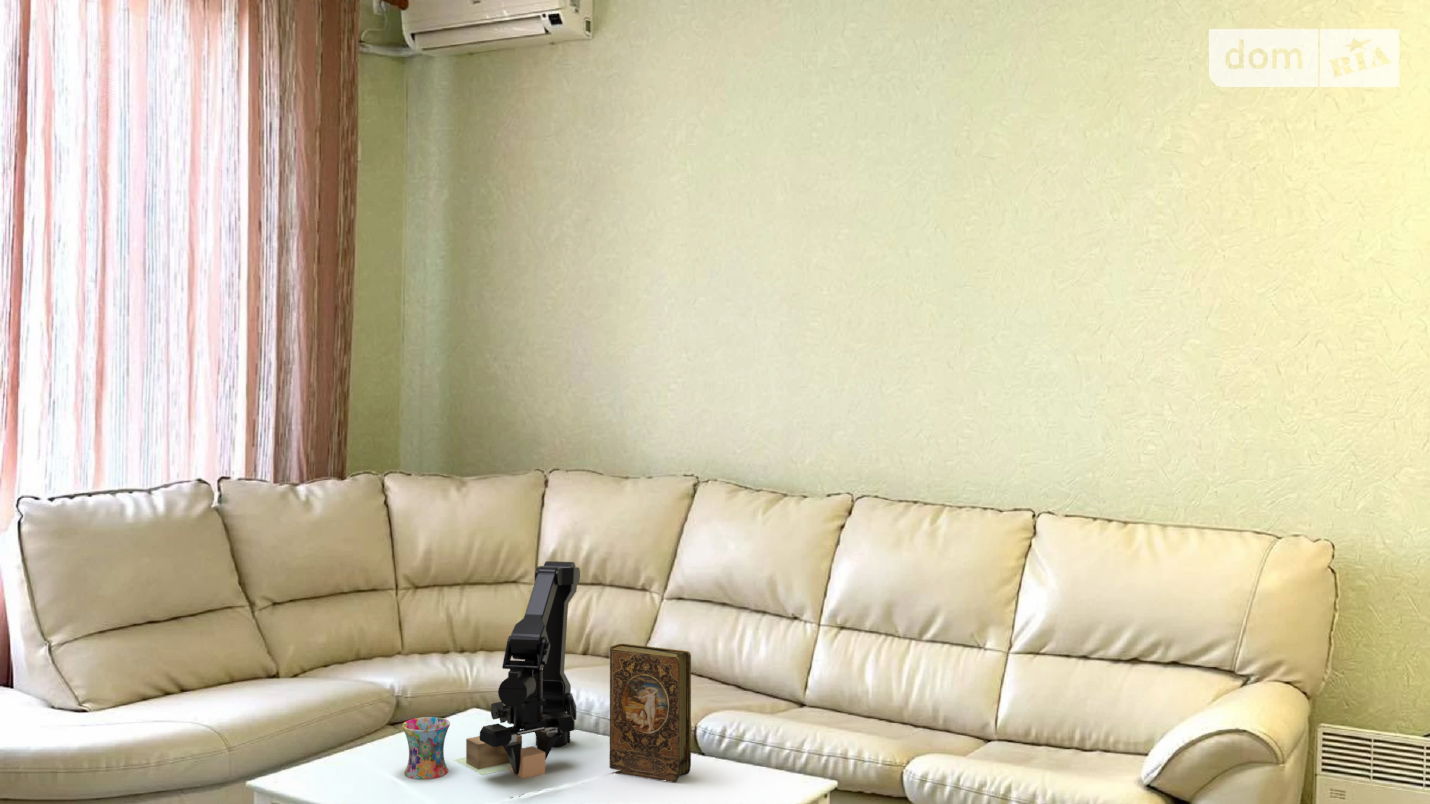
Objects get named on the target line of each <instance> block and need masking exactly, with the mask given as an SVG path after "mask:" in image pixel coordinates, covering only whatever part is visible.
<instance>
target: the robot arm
mask: <svg viewBox="0 0 1430 804" xmlns="http://www.w3.org/2000/svg"><path fill="white" fill-rule="evenodd" d="M535 568H536V569H535V572H534V584H533V587H532V589H531V590H532V591H531V593H530V597H529V600H528V604H527V607H526V609H525V613H524V616H523V618H522V619H521V620H519V621H518V622H517V623H515V624H514V627H513V629H512V631H511V633H510V635H509V636H508V637H507V641H506V646H505V652H504V657H503V662H502V666H501V667H502V669H503V670H504V669H505V670H509V671H508V672H507V677H506V678H505V679H504V680H503V681H501V682H500V685H499V686H498V689H497V690H498V691H497V693H498V694H497V695H498V698H499V700H500V701H497V702H492V703H491V704H490V715H491V716H490V717H491V719H492V720H498V719H499V721H500V723H494V724H489V725H483V726H482V727H481V729H480V731H479V736H480V741H482V742H484V743H486V744H488V745H490V746H492V747H498V746H503V747H504V749H505V751H506V753H507V755H508V758H509V761H510V763H511V766H512V769H513V772H514V773H513V774H514V775H516V776H518V775H517V774H518V773H519V768H520V755H521V743H519V742H517V735H521V736H522V735H526V734H530V733H531V734H532V733H534V734H535V747H536V748H537V749H539V750H541V751H544V752H545V762H546V760H547V758H548V756H549V754H550V752H551V750H552V749H554V748H556V749H557V748H562V747H565V746H567V745H568V744H571V732H574V731H575V730H576V729H575V728H576V724H575V723H576V722H575V720H577V704H576V701H575V698H574V696H573V693H572V692H571V689H572V685H571V683H570V682H569V681H570V680H569V679H568V678H567V675H566V673H565V659H566V646H567V645H566V643H567V630H568V629H567V627H568V614H569V613H568V612H569V603H570V602H571V600H572V599H573V597H574V596H575V594H576V593H577V588H578V587H577V586H578V584H579V583H580V580H581V579H580V578H581V569H580V567H579V566H578V567H577V566H576V563H575V562H574V561H559V560H558V561H556V560H555V561H553V560H552V561H550V560H546V561H545V562H544V564H543V565H539V566H536V567H535ZM503 723H506V724H509V725H512V726H508V727H507V726H504V725H503Z"/></svg>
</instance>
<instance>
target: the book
mask: <svg viewBox="0 0 1430 804" xmlns="http://www.w3.org/2000/svg"><path fill="white" fill-rule="evenodd" d="M691 699H692V655H691V652H690V651H689V650H681V649H671V648H663V647H655V646H647V645H638V644H629V643H618V644H614V645H612V646H610V647H609V768H610V769H611V770H615V771H612V773H613V774H620V775H624V776H625V775H626V776H629V777H630V776H631V777H638V778H642V777H643V779H648V778H650V780H656V781H660V780H666V781H665V782H668V781H672V782H671V783H676V782H678V781H679V779H680V777H682V776H686V775H688V774H689V773H690V772H691V766H692V700H691Z"/></svg>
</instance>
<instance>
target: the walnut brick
mask: <svg viewBox="0 0 1430 804" xmlns="http://www.w3.org/2000/svg"><path fill="white" fill-rule="evenodd" d="M465 742H466V744H465V745H466V746H465V749H466V750H465V751H466V753H465V754H466V755H465V757H466V763H467V764H469V765H471V766H473V767H474V768H476V769H483V768H487V767H492V766H496V765H501V764H505V763H510V761H509V758H508V755H507V753H506V751H505V749H504V747H503V746H498V747H492V746H490V745H488V744H486V743H484V742H482V741H480V735H478V736H474V737H468V738H466V740H465ZM517 742H519V743H521V749H522V748H523V736H522V735H517Z"/></svg>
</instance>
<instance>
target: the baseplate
mask: <svg viewBox="0 0 1430 804" xmlns="http://www.w3.org/2000/svg"><path fill="white" fill-rule="evenodd" d="M454 761H455V762H457V763H458V764H461V765H462V766H464V767H465V768H468V769H470V770H471V771H473V772H475V773H478V774H479V775H481V776H485V775H489V774H494V773H499V772H504V771H508V770H511V763H505V764H501V765H496V766H492V767H487V768H483V769H476V768H474V767H473V766H471V765H469V764H467V763H466V756H464V757H459V758H455V759H454Z"/></svg>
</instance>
